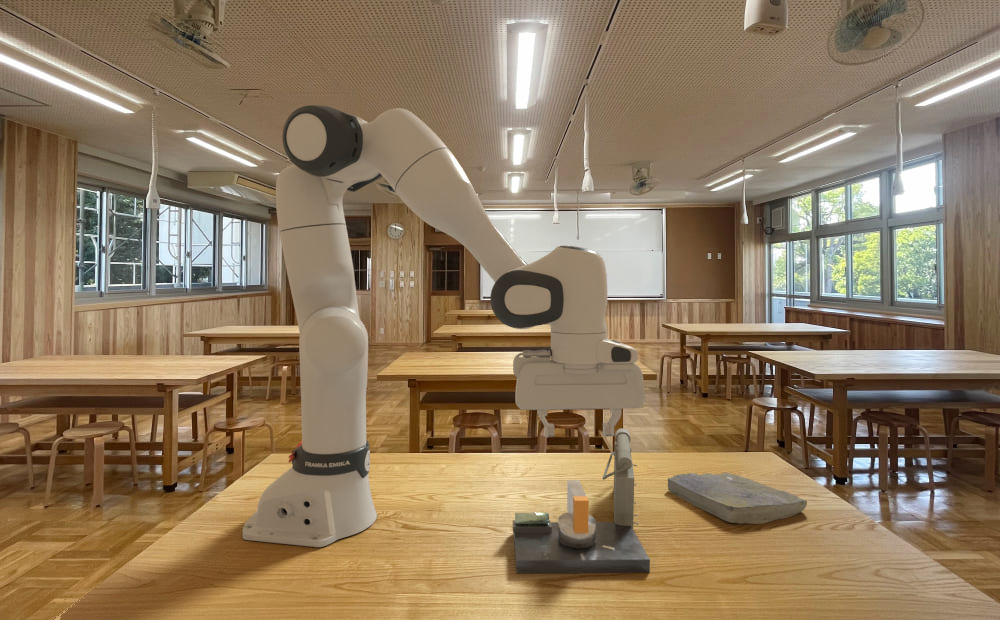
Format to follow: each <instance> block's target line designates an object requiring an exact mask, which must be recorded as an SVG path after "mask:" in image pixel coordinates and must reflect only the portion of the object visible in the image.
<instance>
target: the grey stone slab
mask: <svg viewBox="0 0 1000 620" xmlns="http://www.w3.org/2000/svg"><path fill="white" fill-rule="evenodd" d="M667 490H668V492H670V493H671V495H672V494H673V495H674V496H676V497H678V498H680V499H681V500H684V502H686V503H688V504H691V505H693V506H694V507H695V508H698V509H700V510H702V511H704V512H707V513H709V514H711V515H713V516H715V517H717V518H718V519H721V520H722V521H724V522H727V523H733V524H740V525H741V524H747V525H749V524H750V525H758V524H760V525H761V524H767V523H770V522H771V523H772V521H777V520H783V519H787V518H790V517H793V516H796V515H798V514H799V513H801V512H803V511H804V510H805V509H806V507H807V506H808V500H807V499H803V498H801V497H799V496H797V495H795V494H792V493H790V492H788V491H785V490H781V489H776V488H775V487H771V486H768V485H766V484H763V483H760V482H758V481H755V480H753V479H749V478H747V477H744V476H740V475H736V474H735V473H734V474H733V473H729V472H721V473H718V474H716V473H714V474H713V473H702V474H698V473H695V472H690V473H681V474H676V475H673V476H672V477H668V478H667Z"/></svg>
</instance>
